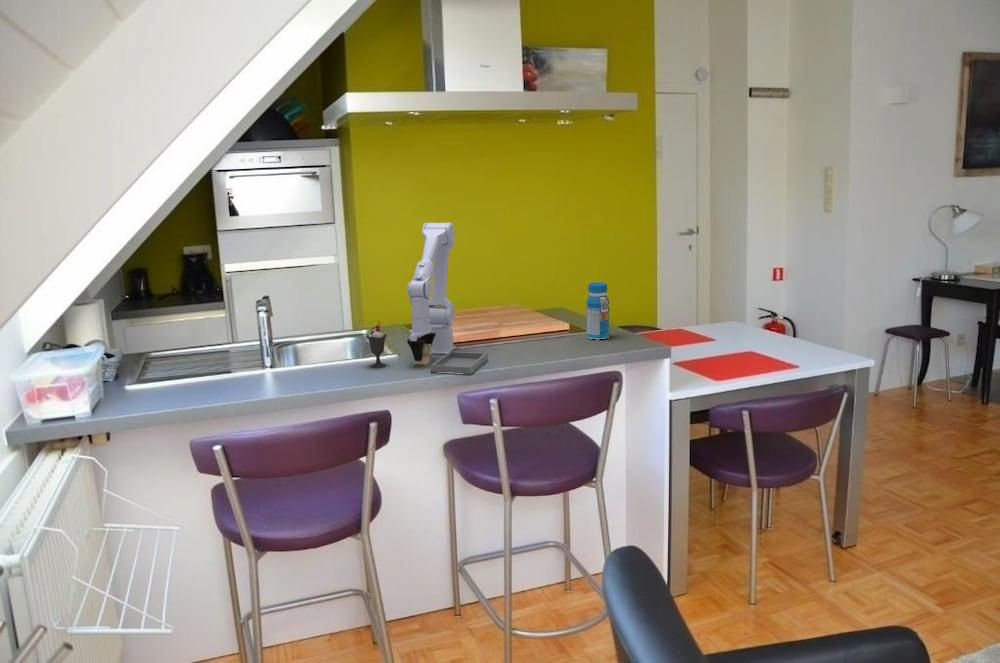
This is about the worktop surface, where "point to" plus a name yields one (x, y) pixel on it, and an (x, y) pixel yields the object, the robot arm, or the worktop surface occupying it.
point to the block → (425, 355)
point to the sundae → (377, 344)
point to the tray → (459, 362)
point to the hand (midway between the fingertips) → (422, 357)
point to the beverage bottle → (597, 311)
